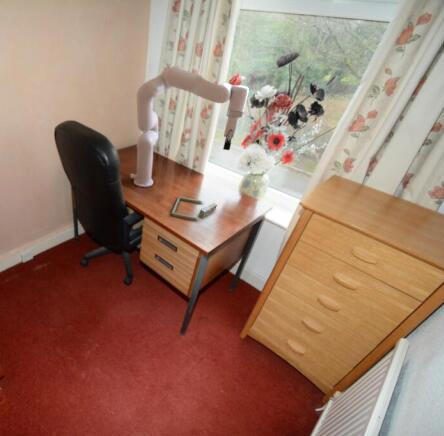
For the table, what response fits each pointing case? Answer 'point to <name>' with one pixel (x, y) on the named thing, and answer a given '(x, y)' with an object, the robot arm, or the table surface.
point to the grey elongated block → (207, 210)
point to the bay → (182, 214)
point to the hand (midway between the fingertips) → (226, 146)
